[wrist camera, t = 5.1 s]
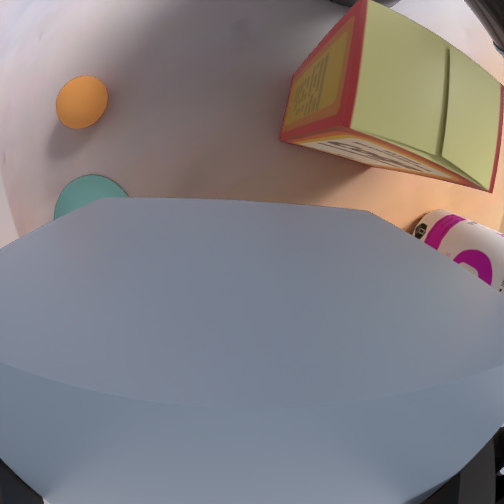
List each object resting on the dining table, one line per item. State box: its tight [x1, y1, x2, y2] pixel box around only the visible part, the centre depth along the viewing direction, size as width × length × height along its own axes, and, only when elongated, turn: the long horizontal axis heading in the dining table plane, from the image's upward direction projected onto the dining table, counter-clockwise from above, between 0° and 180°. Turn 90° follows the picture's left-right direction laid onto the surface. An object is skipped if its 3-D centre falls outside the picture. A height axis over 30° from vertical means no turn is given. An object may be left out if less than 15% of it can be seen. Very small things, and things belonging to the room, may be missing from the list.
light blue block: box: [0, 197, 504, 504], centre depth 8 cm, size 10×10×9 cm
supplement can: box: [412, 209, 504, 296], centre depth 21 cm, size 8×8×15 cm
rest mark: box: [54, 175, 128, 220], centre depth 26 cm, size 10×10×1 cm
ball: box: [56, 76, 108, 129], centre depth 19 cm, size 5×5×5 cm
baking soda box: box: [279, 0, 504, 193], centre depth 16 cm, size 10×6×16 cm
